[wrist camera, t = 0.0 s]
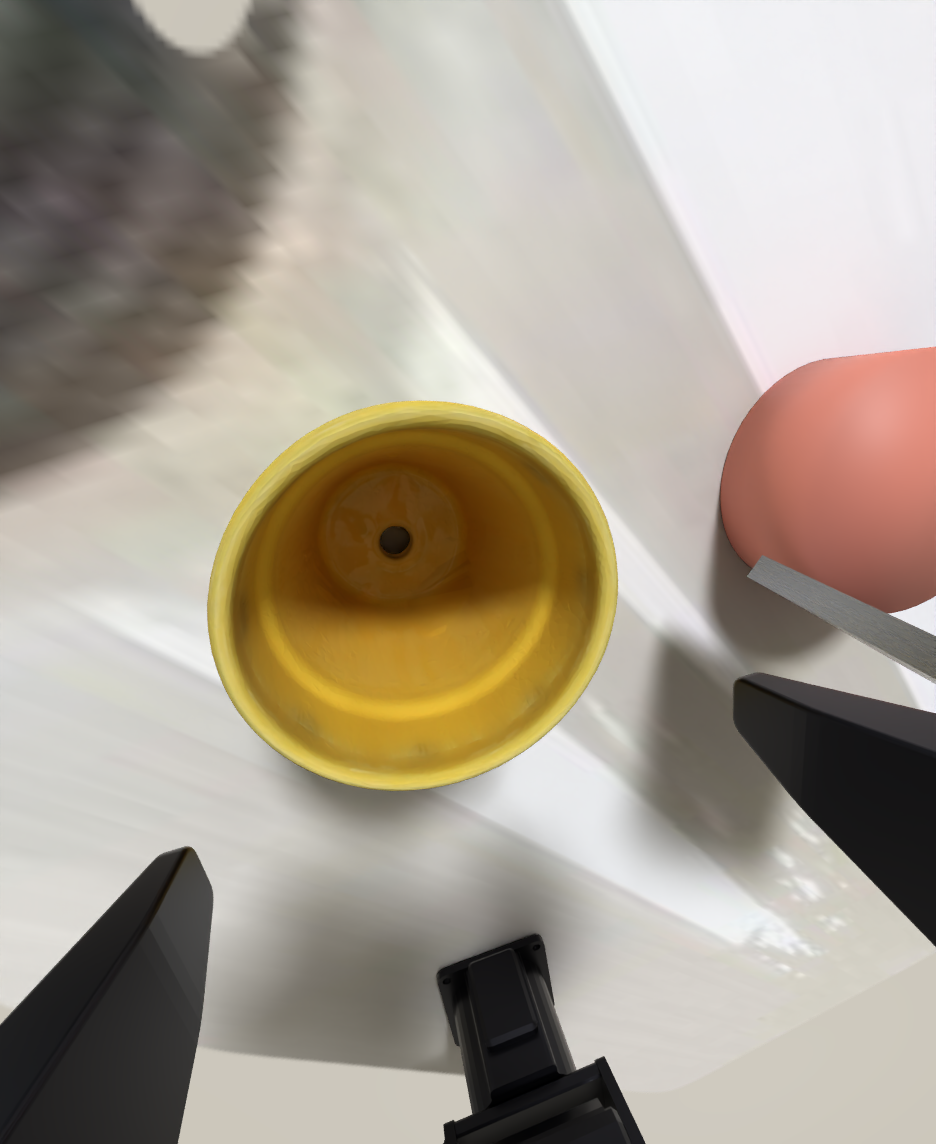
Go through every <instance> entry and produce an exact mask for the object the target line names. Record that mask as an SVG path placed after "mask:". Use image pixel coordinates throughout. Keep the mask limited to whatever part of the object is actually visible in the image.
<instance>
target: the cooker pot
mask: <svg viewBox="0 0 936 1144" xmlns="http://www.w3.org/2000/svg"><path fill="white" fill-rule="evenodd" d="M720 501H721V514H722V519H723V525H724V528H725V531H726V534H727V537H728V539H729V541H730V543H731V545H732V547H733V549H734V550H735V551H736V553H737V554H738V556H739V557H740V558H741V559H742V560H743V561H744V562H745V563H746V564H747V565H748V566H750V567H751V568H752V569H753V567H754V566H755V564H756V563H757V562H758V560H759V559H760V557H761V556H762V555H763V556H766V557H768V558H770V559H772V560H774V561H776V562H778V563H781V564H783V565H785V566H787V567H789V568H791V569H793V570H795V571H798V572H800V573H802V574H804V575H806V576H808V577H810V578H812V579H815V580H817V581H819V582H821V583H823V584H825V585H827V586H830V587H832V588H834V589H836V590H838V591H840V592H842V593H844V594H847V595H849V596H851V597H853V598H855V599H857V600H859V601H862V602H864V603H866V604H868V605H870V606H872V607H874V608H876V609H879V610H881V611H883V612H885V613H894V612H898V611H903V610H906V609H909V608H912V607H914V606H917V605H919V604H921V603H923V602H925V601H927V600H929V599H931V598H933V597H934V596H936V347H929V348H920V349H911V350H902V351H893V352H884V353H875V354H866V355H857V356H848V357H839V358H830V359H823V360H819V361H815V362H811V363H809V364H806V365H804V366H802V367H799V368H797V369H796V370H794V371H792V372H791V373H789V374H787V375H786V376H784V377H783V378H782V379H780V380H779V381H778V382H776V383H775V384H774V385H773V386H772V387H771V388H769V389H768V390H767V391H766V392H765V393H764V394H763V395H762V396H761V397H760V399H759V400H758V401H757V402H756V404H755V405H754V406H753V407H752V408H751V410H750V411H749V413H748V414H747V416H746V417H745V419H744V420H743V422H742V424H741V425H740V427H739V429H738V431H737V433H736V435H735V437H734V439H733V442H732V444H731V447H730V449H729V452H728V455H727V459H726V462H725V465H724V470H723V476H722V481H721V495H720Z"/></svg>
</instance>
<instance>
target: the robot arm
mask: <svg viewBox="0 0 936 1144" xmlns="http://www.w3.org/2000/svg"><path fill="white" fill-rule="evenodd" d="M733 720H734V724H735V726H736V728H737V730H738V732H739V733H740V734H741V736H742V737H743V738H744V739H745V740H746V742H747V743H748V744H749V745H750V747H751V748H752V749H753V750H754V752H755V753H756V754H757V755H758V756H759V758H760V759H761V760H762V761H763V763H764V764H765V765H766V766H767V767H768V769H769V770H770V771H771V772H772V774H773V775H774V776H775V777H776V779H777V780H778V781H779V782H780V783H781V785H782V786H783V787H784V788H785V790H786V791H787V792H788V793H789V794H790V796H791V797H792V798H793V799H794V800H795V801H796V803H797V804H798V805H799V806H800V807H801V808H802V809H803V810H804V812H805V813H806V814H807V815H808V816H809V817H810V818H811V819H812V820H813V821H814V822H815V823H816V824H817V825H818V826H819V827H820V828H821V829H822V830H823V831H824V832H825V833H826V834H827V836H828V837H829V838H830V839H831V840H832V841H833V842H834V843H835V844H836V845H837V846H838V847H839V848H840V849H841V850H842V851H843V852H844V853H845V854H846V855H847V856H848V857H849V858H850V859H851V860H852V861H853V862H854V863H855V864H856V865H857V866H858V867H859V868H860V869H861V871H862V872H863V873H864V874H865V875H866V876H867V877H868V878H869V879H870V880H871V881H872V882H873V883H874V884H875V885H876V886H877V887H878V888H879V889H880V890H881V891H882V892H883V893H884V894H885V895H886V896H887V897H888V898H889V899H890V900H891V901H892V902H893V903H894V904H895V905H896V907H897V908H898V909H899V910H900V911H901V912H902V913H903V914H904V915H905V916H906V917H907V918H908V919H909V920H910V921H911V922H912V923H913V924H914V925H915V926H916V927H917V928H918V929H919V930H920V931H921V932H922V933H923V934H924V935H925V936H926V937H927V938H928V939H929V940H930V941H931V943H932V944H933V945H934V946H935V947H936V713H932V712H927V711H923V710H919V709H915V708H910V707H906V706H902V705H897V704H893V703H889V702H884V701H880V700H876V699H872V698H867V697H863V696H859V695H854V694H850V693H846V692H841V691H837V690H833V689H829V688H824V687H820V686H816V685H811V684H807V683H803V682H798V681H794V680H790V679H786V678H781V677H777V676H773V675H768V674H764V673H753V674H749V675H746V676H743V677H739V678H738V679H736V680H735V682H734V685H733ZM212 912H213V890H212V886H211V884H210V881H209V879H208V877H207V875H206V873H205V871H204V868H203V866H202V864H201V862H200V860H199V858H198V856H197V853H196V852H195V850H194V849H193V848H192V847H188V846H185V847H182V848H178V849H175V850H172V851H169V852H165V853H163V854H161V855H159V856H158V857H157V858H156V859H155V860H154V861H153V862H152V863H151V864H150V865H149V866H148V867H147V868H146V869H145V870H144V871H143V872H142V873H141V874H140V876H139V877H138V878H137V879H136V880H135V881H134V882H133V883H132V884H131V885H130V886H129V887H128V888H127V889H126V890H125V892H124V893H123V894H122V895H121V896H120V897H119V898H118V899H117V900H116V901H115V902H114V903H113V904H112V905H111V907H110V908H109V909H108V910H107V911H106V912H105V913H104V914H103V915H102V916H101V917H100V918H99V919H98V920H97V922H96V923H95V924H94V925H93V926H92V927H91V928H90V929H89V930H88V931H87V932H86V933H85V934H84V935H83V936H82V938H81V939H80V940H79V941H78V942H77V943H76V944H75V945H74V946H73V947H72V948H71V949H70V950H69V951H68V953H67V954H66V955H65V956H64V957H63V958H62V959H61V960H60V961H59V962H58V963H57V964H56V965H55V966H54V968H53V969H52V970H51V971H50V972H49V973H48V974H47V975H46V976H45V977H44V978H43V979H42V980H41V981H40V982H39V984H38V985H37V986H36V987H35V988H34V989H33V990H32V991H31V992H30V993H29V994H28V995H27V996H26V997H25V999H24V1000H23V1001H22V1002H21V1003H20V1004H19V1005H18V1006H17V1007H16V1008H15V1009H14V1010H13V1011H12V1012H11V1014H10V1015H9V1016H8V1017H7V1018H6V1019H5V1020H4V1021H3V1022H2V1023H1V1024H0V1144H178V1139H179V1134H180V1129H181V1124H182V1118H183V1114H184V1109H185V1104H186V1098H187V1093H188V1089H189V1083H190V1078H191V1073H192V1068H193V1063H194V1058H195V1053H196V1048H197V1043H198V1037H199V1031H200V1026H201V1019H202V1010H203V1002H204V992H205V982H206V972H207V962H208V952H209V942H210V932H211V922H212ZM437 979H438V985H439V988H440V992H441V995H442V999H443V1002H444V1006H445V1009H446V1013H447V1016H448V1020H449V1023H450V1027H451V1030H452V1034H453V1037H454V1041H455V1044H456V1045H457V1046H460V1049H461V1055H462V1060H463V1066H464V1071H465V1076H466V1082H467V1087H468V1092H469V1098H470V1103H471V1109H472V1114H473V1115H470V1116H468V1117H466V1118H463V1119H461V1120H458V1121H456V1122H454V1120H452V1121H450V1122H447V1123H445V1124H444V1135H445V1140H444V1143H443V1144H645V1141H644V1139H643V1137H642V1135H641V1133H640V1131H639V1129H638V1126H637V1124H636V1122H635V1120H634V1118H633V1116H632V1114H631V1112H630V1110H629V1107H628V1105H627V1103H626V1101H625V1099H624V1097H623V1095H622V1093H621V1090H620V1088H619V1086H618V1084H617V1082H616V1080H615V1078H614V1076H613V1074H612V1071H611V1069H610V1067H609V1065H608V1063H607V1061H606V1059H605V1057H604V1056H603V1057H601V1058H598V1059H596V1060H595V1063H593V1064H590V1065H588V1066H586V1067H583V1068H581V1069H579V1070H576V1067H575V1064H574V1062H573V1059H572V1056H571V1053H570V1050H569V1048H568V1045H567V1042H566V1039H565V1036H564V1034H563V1031H562V1028H561V1025H560V1022H559V1019H558V1017H557V1014H556V1011H555V1008H554V999H553V993H552V987H551V981H550V975H549V969H548V964H547V958H546V952H545V946H544V943H543V940H542V938H541V936H540V935H532V936H530V937H527V938H524V939H522V940H519V941H516V942H513V943H511V944H508V945H505V946H503V947H500V948H497V949H495V950H492V951H489V952H487V953H484V954H481V955H479V956H476V957H473V958H470V959H468V960H465V961H462V962H460V963H457V964H454V965H452V966H449V967H446V968H444V969H442V970H440V971H439V972H438V974H437Z"/></svg>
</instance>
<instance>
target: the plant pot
mask: <svg viewBox="0 0 936 1144" xmlns="http://www.w3.org/2000/svg"><path fill="white" fill-rule="evenodd" d="M392 526H401V527H404V528H405V529H406V530H407V531H408V533H409V535H410V542H409V544H408V546H407V548H406V549H405V550H404V551H403V552H401V553H399V554H389V553H387V552H386V551H384V550H383V548H382V547H381V544H380V536H381V534H382V533H383V532H384V530H385V529H387V528H389V527H392ZM617 595H618V573H617V562H616V554H615V548H614V544H613V539H612V535H611V532H610V529H609V526H608V522H607V519H606V517H605V515H604V512H603V510H602V508H601V505H600V503H599V501H598V500H597V498H596V496H595V494H594V492H593V491H592V489H591V487H590V486H589V484H588V483H587V481H586V480H585V478H584V477H583V475H582V474H581V473H580V472H579V470H578V469H577V468H576V467H575V466H574V465H573V464H572V463H571V462H570V461H569V460H568V458H567V457H566V456H565V455H564V454H563V453H562V452H560V451H559V450H558V449H557V448H556V447H555V446H553V445H552V444H551V443H550V442H548V441H547V440H546V439H545V438H543V437H542V436H540V435H538V434H537V433H535V432H534V431H532V430H530V429H529V428H527V427H525V426H523V425H521V424H519V423H518V422H516V421H514V420H511V419H509V418H507V417H505V416H503V415H500V414H497V413H494V412H491V411H488V410H484V409H481V408H477V407H474V406H469V405H464V404H458V403H451V402H439V401H402V402H392V403H385V404H380V405H375V406H371V407H367V408H364V409H360V410H356V411H353V412H351V413H348V414H345V415H343V416H340V417H338V418H336V419H334V420H331V421H329V422H327V423H325V424H323V425H322V426H320V427H318V428H316V429H315V430H313V431H311V432H309V433H308V434H306V435H305V436H304V437H302V438H301V439H299V440H298V441H296V442H295V443H294V444H293V445H291V446H290V447H289V448H288V449H287V450H285V451H284V452H283V453H282V454H281V455H280V456H279V457H277V458H276V459H275V460H274V461H273V462H272V463H271V464H270V466H269V467H268V468H267V469H266V470H265V471H264V472H263V473H262V474H261V475H260V476H259V478H258V479H257V480H256V481H255V483H254V484H253V485H252V486H251V488H250V489H249V491H248V492H247V493H246V495H245V496H244V498H243V499H242V501H241V502H240V504H239V506H238V507H237V509H236V510H235V512H234V514H233V516H232V518H231V520H230V522H229V524H228V526H227V528H226V530H225V532H224V534H223V537H222V539H221V542H220V545H219V548H218V551H217V553H216V556H215V560H214V564H213V569H212V573H211V577H210V584H209V593H208V602H207V620H208V632H209V638H210V644H211V650H212V654H213V658H214V661H215V664H216V667H217V671H218V673H219V676H220V678H221V681H222V683H223V686H224V688H225V690H226V692H227V694H228V696H229V698H230V699H231V701H232V703H233V705H234V706H235V708H236V709H237V711H238V712H239V714H240V715H241V716H242V718H243V719H244V720H245V721H246V723H247V724H248V725H249V726H250V727H251V728H252V729H253V730H254V732H255V733H256V734H257V735H258V736H259V737H260V738H262V739H263V740H264V741H265V742H266V743H267V744H268V745H269V746H270V747H272V748H273V749H274V750H276V751H277V752H278V753H280V754H281V755H282V756H284V757H285V758H287V759H288V760H290V761H292V762H293V763H295V764H297V765H298V766H300V767H302V768H304V769H306V770H308V771H310V772H313V773H315V774H317V775H319V776H322V777H324V778H327V779H330V780H333V781H336V782H339V783H343V784H347V785H352V786H356V787H361V788H366V789H374V790H387V791H408V790H418V789H430V788H435V787H440V786H445V785H450V784H454V783H458V782H461V781H464V780H467V779H470V778H473V777H475V776H478V775H480V774H483V773H485V772H487V771H490V770H492V769H494V768H496V767H499V766H501V765H502V764H504V763H506V762H508V761H509V760H511V759H513V758H514V757H516V756H518V755H519V754H521V753H522V752H524V751H525V750H527V749H528V748H529V747H531V746H532V745H533V744H535V743H536V742H537V741H539V740H540V739H541V738H542V737H543V736H545V735H546V734H547V733H548V732H549V731H550V730H551V729H552V728H553V727H554V726H555V725H557V724H558V723H559V722H560V720H561V719H562V718H563V717H564V716H565V715H566V714H567V713H568V712H569V710H570V709H571V708H572V707H573V706H574V705H575V703H576V702H577V700H578V699H579V697H580V696H581V695H582V693H583V692H584V690H585V689H586V687H587V686H588V684H589V682H590V681H591V679H592V677H593V675H594V674H595V672H596V670H597V668H598V666H599V664H600V662H601V660H602V657H603V655H604V653H605V650H606V647H607V644H608V641H609V638H610V634H611V631H612V626H613V622H614V617H615V613H616V605H617Z"/></svg>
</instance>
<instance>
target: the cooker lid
mask: <svg viewBox="0 0 936 1144" xmlns="http://www.w3.org/2000/svg"><path fill="white" fill-rule="evenodd" d="M747 577H748V578H750V579H752V580H754V581H755V582H757V583H759V584H761V585H762V586H764V587H766V588H768V589H769V590H771V591H773V592H775V593H776V594H778V595H780V596H782V597H783V598H785V599H787V600H789V601H790V602H792V603H794V604H796V605H797V606H799V607H801V608H803V609H804V610H806V611H808V612H810V613H811V614H813V615H815V616H817V617H818V618H820V619H822V620H824V621H825V622H827V623H829V624H831V625H832V626H834V627H836V628H838V629H840V630H841V631H843V632H845V633H847V634H848V635H850V636H852V637H854V638H855V639H857V640H859V641H861V642H862V643H864V644H866V645H868V646H869V647H871V648H873V649H875V650H876V651H878V652H880V653H882V654H883V655H885V656H887V657H889V658H890V659H892V660H894V661H896V662H897V663H899V664H901V665H903V666H904V667H906V668H908V669H910V670H912V671H913V672H915V673H917V674H919V675H921V676H922V677H924V678H926V679H928V680H930V681H931V682H933V683H935V684H936V636H934V635H932V634H930V633H928V632H925V631H923V630H921V629H919V628H917V627H915V626H913V625H911V624H908V623H906V622H904V621H902V620H900V619H898V618H896V617H893V616H891V615H889V614H887V613H885V612H883V611H881V610H879V609H876V608H874V607H872V606H870V605H868V604H866V603H864V602H862V601H859V600H857V599H855V598H853V597H851V596H849V595H847V594H844V593H842V592H840V591H838V590H836V589H834V588H832V587H830V586H827V585H825V584H823V583H821V582H819V581H817V580H815V579H812V578H810V577H808V576H806V575H804V574H802V573H800V572H798V571H795V570H793V569H791V568H789V567H787V566H785V565H783V564H781V563H778V562H776V561H774V560H772V559H770V558H768V557H766V556H763V555H762V556H761V557H760V559H759V560H758V562H757V563H756V564H755V566H754V567H753V569H752V570H751V571H750V573H749V574H748V575H747Z"/></svg>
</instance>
